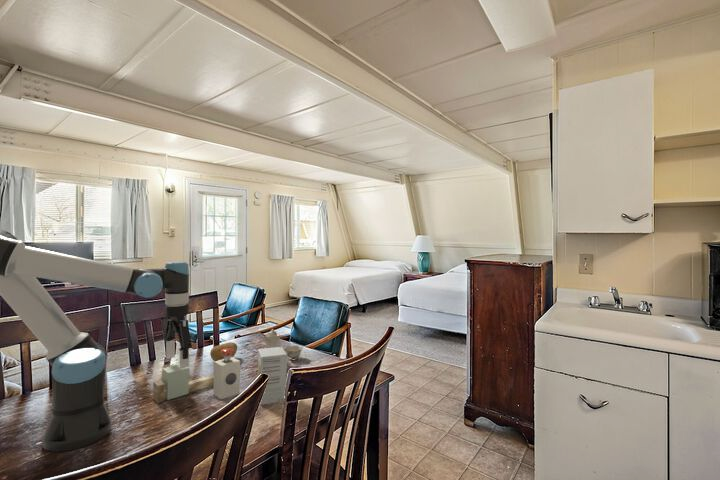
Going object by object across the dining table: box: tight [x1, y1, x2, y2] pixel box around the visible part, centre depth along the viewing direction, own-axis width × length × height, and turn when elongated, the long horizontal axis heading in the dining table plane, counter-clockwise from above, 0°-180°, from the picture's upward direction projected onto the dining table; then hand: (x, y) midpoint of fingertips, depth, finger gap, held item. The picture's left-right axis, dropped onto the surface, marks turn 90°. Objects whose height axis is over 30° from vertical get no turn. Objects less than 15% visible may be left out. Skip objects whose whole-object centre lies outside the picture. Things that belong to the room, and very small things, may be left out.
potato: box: [209, 341, 238, 362], centre depth 159 cm, size 10×14×8 cm
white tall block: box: [213, 356, 241, 400], centre depth 126 cm, size 7×6×12 cm
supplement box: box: [257, 346, 288, 406], centre depth 124 cm, size 10×9×17 cm
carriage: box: [161, 363, 190, 401], centre depth 124 cm, size 7×6×10 cm
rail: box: [152, 373, 214, 404], centre depth 129 cm, size 26×5×6 cm, turn 137°
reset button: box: [221, 348, 234, 363], centre depth 126 cm, size 4×4×4 cm
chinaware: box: [264, 328, 304, 361], centre depth 156 cm, size 28×17×17 cm, turn 170°
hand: (177, 362), depth 124 cm, fingers open, 13 cm apart
